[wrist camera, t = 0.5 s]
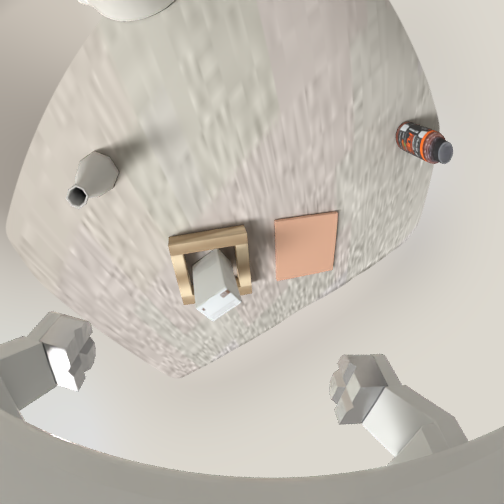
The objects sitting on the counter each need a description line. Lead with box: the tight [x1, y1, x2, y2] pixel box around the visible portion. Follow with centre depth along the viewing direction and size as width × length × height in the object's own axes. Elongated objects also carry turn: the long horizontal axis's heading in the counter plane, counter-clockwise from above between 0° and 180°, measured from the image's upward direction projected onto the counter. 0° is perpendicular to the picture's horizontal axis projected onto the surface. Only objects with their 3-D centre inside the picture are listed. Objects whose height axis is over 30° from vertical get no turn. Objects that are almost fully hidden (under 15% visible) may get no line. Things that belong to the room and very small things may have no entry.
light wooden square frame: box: [168, 225, 252, 305], centre depth 52 cm, size 13×13×3 cm
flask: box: [66, 151, 119, 209], centre depth 36 cm, size 7×7×10 cm
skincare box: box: [192, 248, 242, 321], centre depth 49 cm, size 6×4×12 cm
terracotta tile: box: [274, 211, 338, 281], centre depth 56 cm, size 13×12×1 cm
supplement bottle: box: [396, 122, 453, 164], centre depth 43 cm, size 6×6×11 cm
